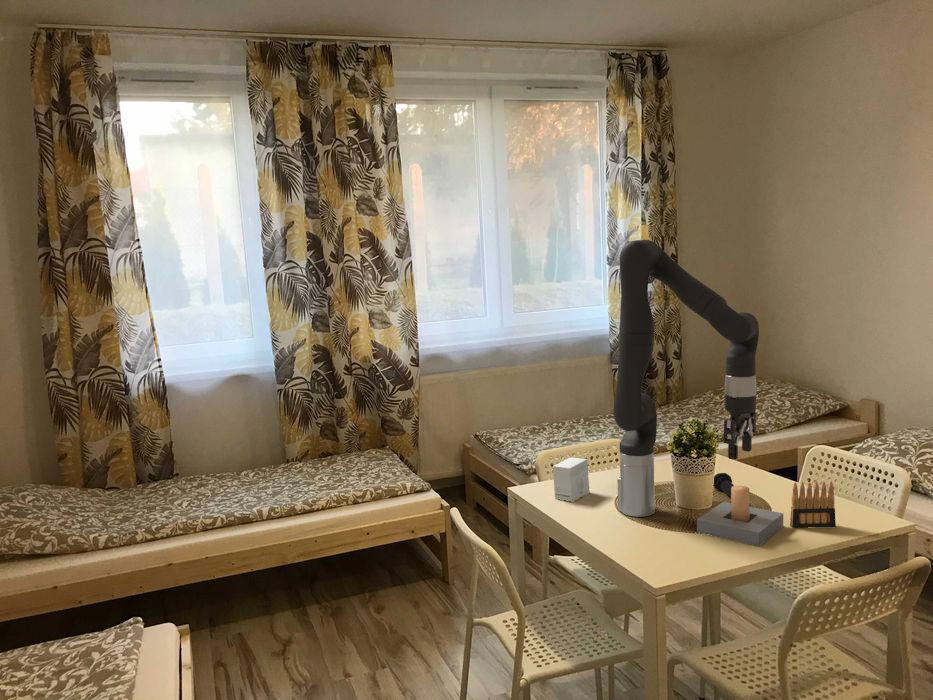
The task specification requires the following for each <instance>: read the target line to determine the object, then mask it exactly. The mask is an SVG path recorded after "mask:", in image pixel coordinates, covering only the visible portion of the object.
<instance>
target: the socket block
mask: <svg viewBox="0 0 933 700" xmlns="http://www.w3.org/2000/svg"><path fill="white" fill-rule="evenodd" d="M783 527H784V513H783V512H778V511H773V510H768V509H764V508H763V509H762V508H757V507H753V506H750V521H749V522H748V523H746V522H741V521H737V520H732V519H731V503H730V502H726V501H723V502H721V503H720V504H718V505H716V506H715V507H713V508H712V509H711V510H709V511H707V512H705V513H704V514H703V515H702V516H699V517H698V518H697V519H696V533H698V532H701V533H700V534H702V533H705V534H704V535H707V534H709V535H708V536H711V535H712V536H711V537H715V536H716V537H717V538H721V539H723V540H729V541H734V542H738V543H742V544H746V545H751V546H755V547H760V546H761V545H762V544H763V543H765V542H766V541H767V540H768V539H770V538H771V537H772V536H773V535H775V534H776V533H777V532H778V531H780V530H781V529H782V528H783Z"/></svg>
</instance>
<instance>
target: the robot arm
mask: <svg viewBox="0 0 933 700" xmlns="http://www.w3.org/2000/svg"><path fill="white" fill-rule="evenodd" d="M619 275H620V276H619V277H620V293H621V294H620V309H619V310H620V313H619V316H620V317H619V332H618V334H619V335H618V360H617V366H618V367H617V379H616V380H617V381H616V388H615V394H614V400H613V401H614V403H613V418H614V421H615V423H616V425H617V426H618V427H619V428H620V429H621V430H623V431H625V432H624V436H623V437H622V438H621V440H620V441H619V471H620V472H619V474H620V475H619V476H618V478H617V480H616V481H617V482H616V483H617V511H618V512H620V513H622V514H624V515H626V516H629V517H637V518H639V517H642V518H643V517H649V516H651V515H653V514H655V512H656V510H655V509H656V504H655V503H656V502H655V500H656V499H655V497H656V496H655V491H656V490H655V458H654V457H655V456H654V455H655V454H654V452H655V451H654V450H655V449H654V447H655V444H656V441H657V430H658V429H657V428H658V427H657V425H658V423H657V422H658V420H657V419H658V415H657V413H658V412H657V406H656V403H655V401H654V400H653V398H652V397H651V396H650V395H648V394H647V393H644V392H642V391H643V382H644V378H645V375H646V371H647V369H648V366H649V364H650V361H651V358H652V356H653V352H654V345H655V320H654V316H653V312H652V309H651V306H650V301H649V295H648V290H649V277H652V278H654V279H656V280H658V281H660V282H661V283H662V284H664V285H665V286H667V288H669V289H670V290H671V291H672V293H674V294H675V296H676V297H677V298H678V299H679V300H680V301H681V302H682V304H684V305H685V306H686V307H687V308H688V309H689V310H691V311H692V312H694V313H695V314H696V315H698V316H700V318H702V319H704V320H705V321H707V323H708V324H709V325H710V326H711V327H712V328H713V329H714V330H715V331H716V332H717V333H718V334H720V336H722V337H723V338H725V339H726V340H727V341H729V342H730V343H729V344H730V346H729V350H728V353H727V354H726V358H725V379H724V410H725V411H726V412H727V413H730V418H729V419H724V420H723V421H724V422H723V444H727V458H728V459H729V460H733V461H734V460H735V461H736V460H737V459H738V457H739V444H738V443H739V441H740V439H741V438H742V439H741V450H742V451H743V452H751V451H752V444H753V443H752V440H753V436H754V434H756V431H757V420H756V419H757V416H756V414H757V413H756V411H757V380H756V378H757V377H756V354H757V350H758V349H757V348H758V342H759V337H760V336H759V335H760V327H759V321H758V319H757V318H756V317H755V315H753V314H752V313H749V312H737V311H736V310H734V309H733V308H732V307H731V306H729V305H728V303H727V300H726V299H725V298H724V297H723V296H721V294H719V293H717V292H716V291H715V290H713V289H711V288H710V287H709V286H707V285H706V284H704V283H703V282H701V281H700V280H699V279H697V278H696V277H695V276H693V275H691V273H689V272H687V271H686V270H685V269H684V268H683V267H682V266H680V265H679V264H678V263H677V262H676V261H675V260H673V258H672V257H670V256H669V255H668V253H667V252H666V251H665V250H663V248H662V247H660V246H659V244H657V243H656V242H654V241H653V240H651V239H637V240H631V241H629V242H627V243H626V244H624V246H623V247H622V249H621V251H620V253H619Z"/></svg>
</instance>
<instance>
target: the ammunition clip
mask: <svg viewBox="0 0 933 700" xmlns="http://www.w3.org/2000/svg"><path fill="white" fill-rule="evenodd" d="M805 488H806V489H805ZM836 522H837V521H836V508H835V493H834V484H833V481H832V480H830V482H829V484H828V491H827V485H826V482H825V481H822V483H821V489H820V486H819V483H818V481H815V483H814V486H812V483H811V481H809V482H808V483H807V487H805V484H804V482H803V481H801V483H800V486H799V488H798V484H797V482H796V481H794V483H793V487H792V496H791V510H790V523H789V526H790V527H791V528H792V529H809V528H808V527H835V528H837V525H836V524H837V523H836Z"/></svg>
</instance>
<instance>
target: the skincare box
mask: <svg viewBox="0 0 933 700" xmlns="http://www.w3.org/2000/svg"><path fill="white" fill-rule="evenodd" d="M588 460H589V459H587V458H579V457H572V456H571V457H568V458H566V459H564V460H562V461H560V462H559V463H556V464H555V465H553V466H552V469H553V470H552V471H553V472H552V473H553V486H554V487H553V488H554V489H553V491H554V499H555V500H557V499H560V500H559V501H563V500H566V501H565V502H568V501H571V502H570V503H574V502H576V501H578V500H579V499H581V498H582V497H584V496H585V494H586V495H588V494H589V493H590V480H589V464H588V463H589V462H588ZM580 497H581V498H580ZM573 501H574V502H573Z"/></svg>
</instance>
